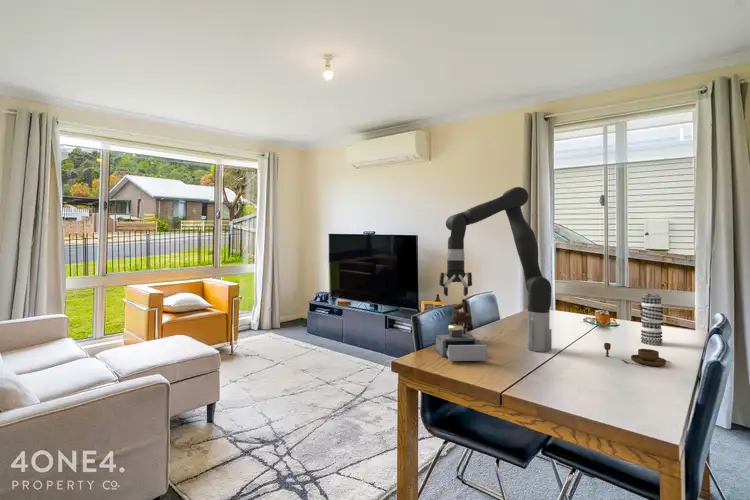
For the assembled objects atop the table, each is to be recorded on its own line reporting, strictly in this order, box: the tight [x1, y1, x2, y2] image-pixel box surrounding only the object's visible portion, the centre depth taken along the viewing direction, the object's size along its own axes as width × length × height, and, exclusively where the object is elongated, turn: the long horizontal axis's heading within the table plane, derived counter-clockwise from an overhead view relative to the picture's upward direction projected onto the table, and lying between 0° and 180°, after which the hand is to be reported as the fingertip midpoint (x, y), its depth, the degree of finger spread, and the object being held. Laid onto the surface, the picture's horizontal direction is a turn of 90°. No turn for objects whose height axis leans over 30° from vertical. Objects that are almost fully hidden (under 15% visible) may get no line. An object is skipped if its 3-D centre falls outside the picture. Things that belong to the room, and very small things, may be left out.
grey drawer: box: [445, 344, 488, 362], centre depth 161 cm, size 16×13×6 cm
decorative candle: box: [639, 292, 664, 347], centre depth 186 cm, size 9×9×25 cm
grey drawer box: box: [435, 330, 481, 358], centre depth 171 cm, size 16×13×10 cm
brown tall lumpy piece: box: [448, 302, 472, 334], centre depth 191 cm, size 15×11×20 cm
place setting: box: [603, 342, 672, 368], centre depth 162 cm, size 18×20×6 cm
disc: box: [447, 324, 464, 332], centre depth 173 cm, size 6×6×2 cm
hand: (455, 295), depth 173 cm, fingers open, 8 cm apart
